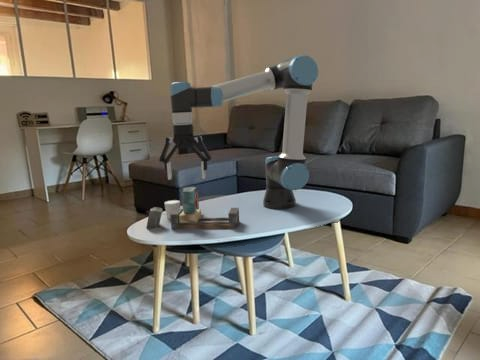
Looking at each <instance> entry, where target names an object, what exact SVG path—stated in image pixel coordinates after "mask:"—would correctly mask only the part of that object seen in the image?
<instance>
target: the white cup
mask: <svg viewBox="0 0 480 360" xmlns="http://www.w3.org/2000/svg"><path fill="white" fill-rule="evenodd" d="M164 209H165V213H166V218H167V219H168V220H171V217H170V214H171V213H172V212H173V211H174V210H175V209H181V201H180V200H177V199H172V200H167V201H164Z"/></svg>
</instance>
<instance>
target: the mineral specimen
mask: <svg viewBox="0 0 480 360" xmlns="http://www.w3.org/2000/svg"><path fill="white" fill-rule="evenodd" d="M163 211H164V210H163V208H161V207H157V206H154V207H152V208H150V210H149V213H148V217H147V223H146V229H152V228H159V227H160V223H161V219H162V218H161V217H162V214H163Z"/></svg>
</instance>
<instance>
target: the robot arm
mask: <svg viewBox="0 0 480 360" xmlns="http://www.w3.org/2000/svg"><path fill="white" fill-rule="evenodd" d="M318 75H319V67H318V64H317V62H316V60H314V59H313V58H312V57H311V56H309V55H305V54H302V55H296V56H293V57H292V58H288V59H286V60H284V61H282V62H280V63H278V64H275V65H272V66H269V67H267V68H266V69H265V70H264V71H260V72H258V73H254V74H250V75H246V76H243V77H240V78H236V79H232V80H229V81H228V80H227V81H225V82H222V83H218V84H214V85H211V86H203V87H201V86H200V87H193V86H192V85H191V83H190V81H189V82H188V81H176V82H175V81H174V82H172V83H171V84H170V101H171V102H170V103H171V111H172V112H171V113H172V114H171V115H172V124H173V126H172V128H173V129H172V130H173V137H170V136H168V137H166V138H165V144H164V147H163V149H162V151H161V155H160V157H159V158H158V159H159V162H160V163H163V164H164V171H165V172H167V180H168V181H170V180H172V179H173V174H172V163H171V161H170V160H171V159H172V158H173V157H174V155H175V153H176V152H177V151H178V150H179V149H180V150H182V149H190V150H192V151H193V152H194V153H195V154H196V156H197V157H198V158H199V159H200V160H201V161H202V162H200V166H201V180H205V179H206V171H207V170H208V162H209V161H211V160H212V156H211V153H210V152H209V151H208V148H207V147H206V144H205V142H204V141H203V137H202V136H201V135H199V136H194V135H195V134H194V125H193V120H194V119H193V109H194V108H195V109H196V108H198V109H203V108H204V109H205V108H218V107H221V106H222V105H223V102H228V101H231V100H236V99H238V98H241V97H245V96H249V95H252V94H257V93H258V92H262V91H266V90H270V91H274V90H279V89H282V90H283V92H284V93H285V94H286V97H285V98H286V99H285V110H284V111H285V113H284V123H283V137H282V148H281V149H282V150H281V151H282V152H281V153H280V154H279V155H275V156H267V157H266V158H265V163H264V166H265V183H266V185H265V187H266V189H265V193H264V196H263V201H262V203H263V207H265V208H267V209H273V210H283V209H284V210H285V209H290V208H292V207H295V206H296V205H297V200H296V197H295V194H294V191H298V190H300V189H302V188H303V187H304V186H306V185H307V183H308V181H309V178H310V173H309V172H310V171H309V169H308V167H307V165H306V160H307V159H306V158H307V157H305V155H304V143H305V128H306V118H307V108H308V107H307V106H308V95H309V94H311V93H312V92H313V83H315V81H316V80H317V78H318ZM194 142H196V143H198V145H199V147H200V149H201V150H202V152H201V151H200V150H199V149H198V148H197V146H196V144H194ZM172 143H174V144H175V145H174V146H173V147H172V149H171V151H170V152H169V153H168V151H169V148H170V146H171V144H172ZM167 154H168V155H167Z"/></svg>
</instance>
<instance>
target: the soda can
mask: <svg viewBox="0 0 480 360" xmlns="http://www.w3.org/2000/svg"><path fill="white" fill-rule="evenodd" d="M196 188H197V187H196V186H185V187H183V188H182V191H184V190H185V189H195V200H196V209H200V207H199V206H200V204H199V194H198V193H199V192H198V190H197V189H196ZM181 202H182V204H183V195H182V194H181ZM182 209H183V211H184V207H183V206H182Z"/></svg>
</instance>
